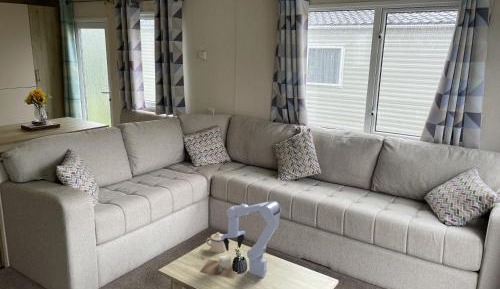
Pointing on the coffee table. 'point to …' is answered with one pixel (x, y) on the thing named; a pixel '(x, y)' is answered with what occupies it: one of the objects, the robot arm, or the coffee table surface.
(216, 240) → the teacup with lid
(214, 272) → the board
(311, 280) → the coffee table surface
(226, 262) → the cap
